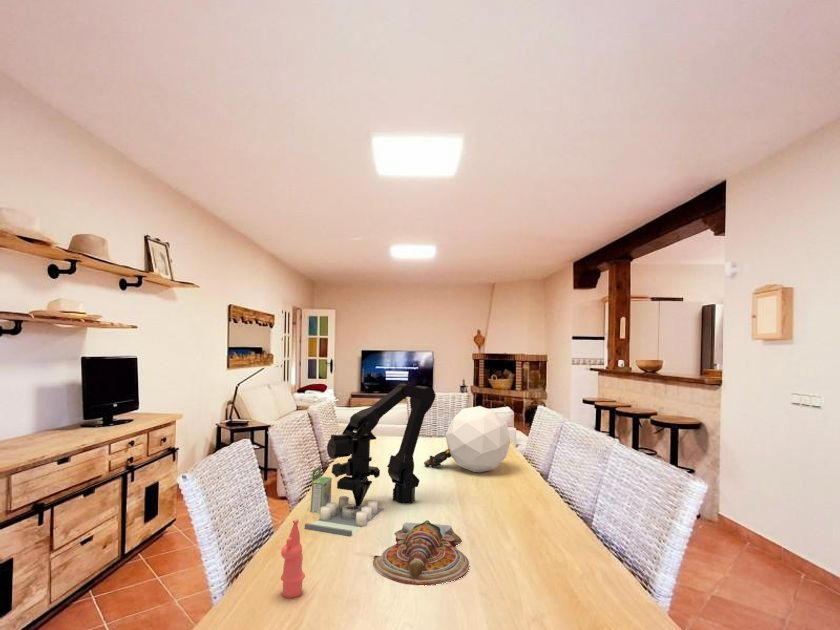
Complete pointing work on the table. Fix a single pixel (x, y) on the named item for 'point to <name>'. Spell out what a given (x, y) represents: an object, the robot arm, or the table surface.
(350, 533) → the slate board
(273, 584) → the table surface
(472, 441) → the light fixture
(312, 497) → the ink box
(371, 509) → the spacers
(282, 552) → the figurine
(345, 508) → the star tealight holder
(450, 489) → the table surface
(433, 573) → the decorative mask
